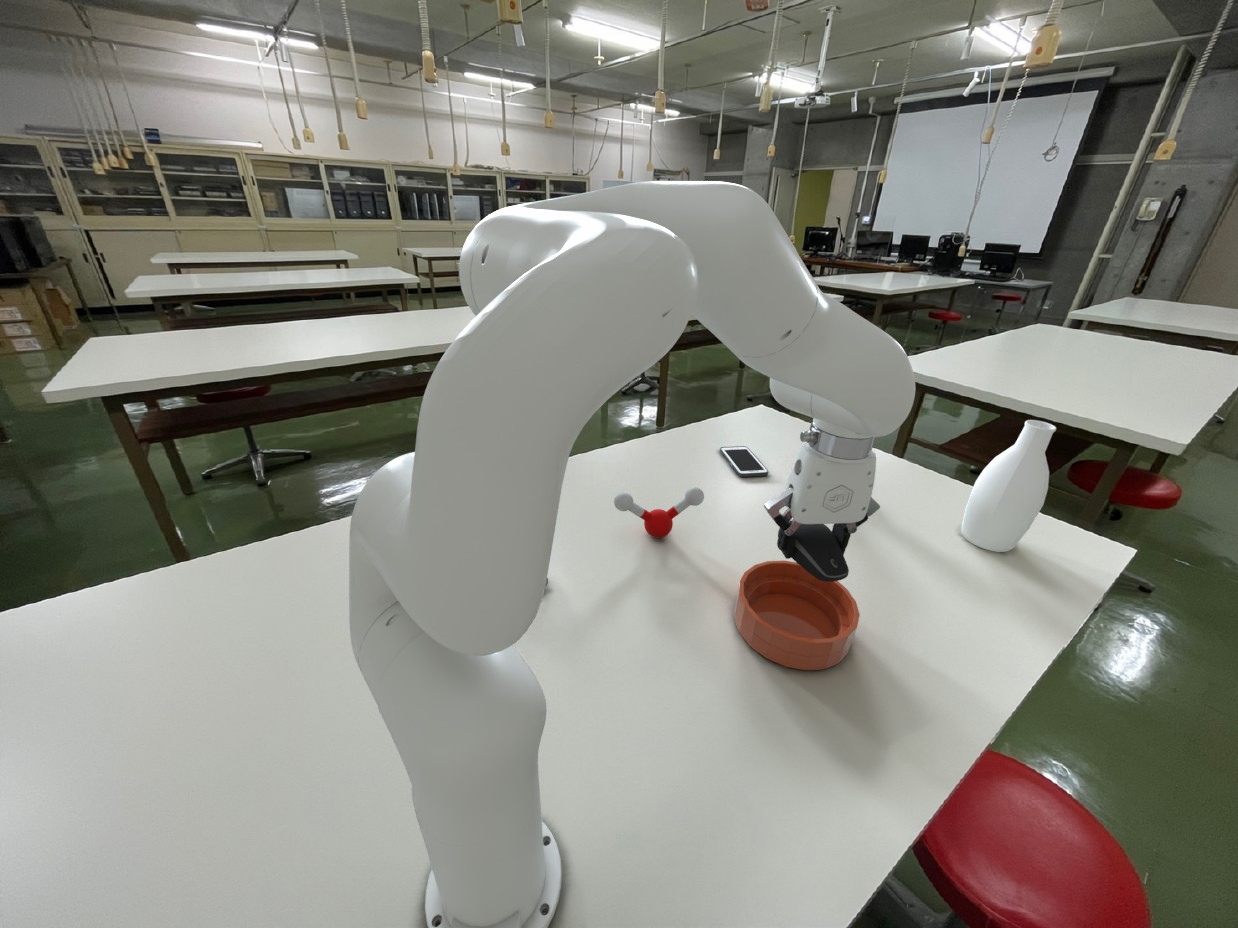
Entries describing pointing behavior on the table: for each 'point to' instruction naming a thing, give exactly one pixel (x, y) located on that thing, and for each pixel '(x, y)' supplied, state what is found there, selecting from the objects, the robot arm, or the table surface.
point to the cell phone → (743, 461)
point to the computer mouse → (819, 552)
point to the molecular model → (659, 511)
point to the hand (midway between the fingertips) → (810, 550)
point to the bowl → (795, 616)
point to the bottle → (1009, 491)
